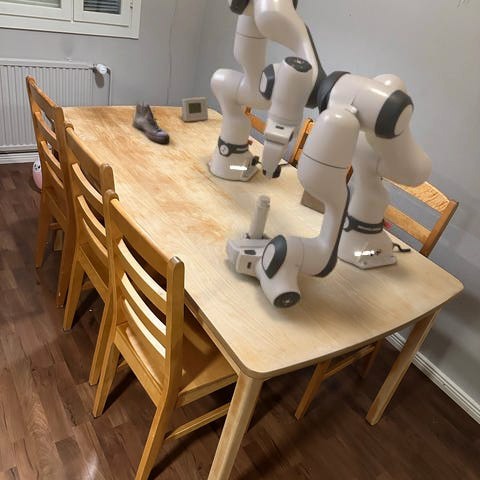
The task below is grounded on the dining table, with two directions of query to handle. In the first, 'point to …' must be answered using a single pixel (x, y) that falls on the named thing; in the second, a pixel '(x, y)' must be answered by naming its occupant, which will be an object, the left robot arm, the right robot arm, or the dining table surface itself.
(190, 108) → the digital clock
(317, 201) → the wooden block
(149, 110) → the shoe
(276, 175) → the lid
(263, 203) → the beige cylindrical bottle
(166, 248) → the dining table surface
